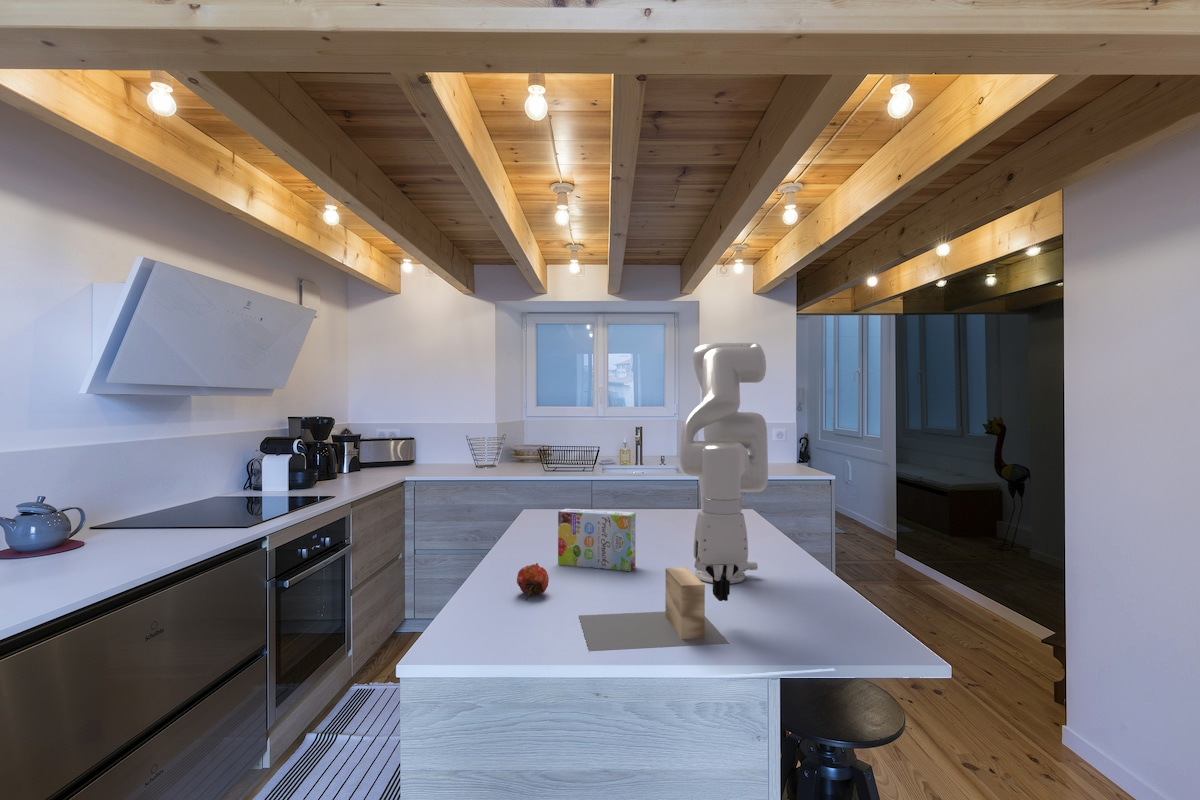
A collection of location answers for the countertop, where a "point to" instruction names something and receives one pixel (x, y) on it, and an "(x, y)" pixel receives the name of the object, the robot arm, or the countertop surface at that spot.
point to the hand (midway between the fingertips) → (721, 598)
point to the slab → (685, 603)
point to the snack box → (597, 539)
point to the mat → (639, 632)
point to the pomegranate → (532, 579)
